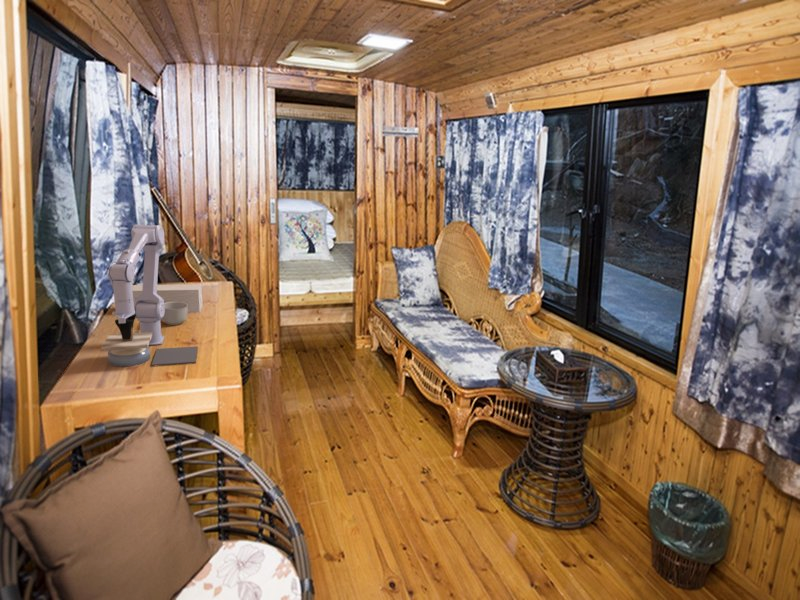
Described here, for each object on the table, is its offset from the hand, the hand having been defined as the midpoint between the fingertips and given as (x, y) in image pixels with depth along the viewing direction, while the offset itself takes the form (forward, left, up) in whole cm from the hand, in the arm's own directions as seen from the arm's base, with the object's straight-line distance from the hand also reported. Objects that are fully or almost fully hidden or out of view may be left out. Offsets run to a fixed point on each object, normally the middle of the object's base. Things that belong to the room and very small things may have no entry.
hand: (127, 337), depth 195 cm
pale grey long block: (-63, +5, -9) cm, 64 cm away
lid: (0, 0, -2) cm, 2 cm away
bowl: (0, 0, -8) cm, 8 cm away
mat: (0, +15, -8) cm, 17 cm away
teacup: (-41, +10, -8) cm, 43 cm away
